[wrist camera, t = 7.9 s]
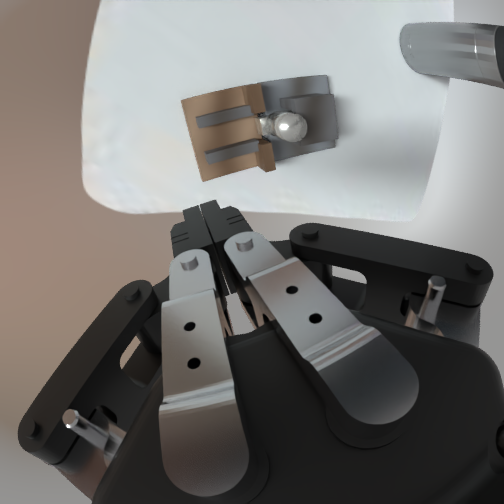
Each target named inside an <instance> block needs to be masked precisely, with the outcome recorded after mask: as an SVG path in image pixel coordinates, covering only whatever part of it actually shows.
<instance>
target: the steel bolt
mask: <svg viewBox="0 0 504 504" xmlns="http://www.w3.org/2000/svg"><path fill="white" fill-rule="evenodd" d="M255 122H256V127H257V132H258V134H260V135H262V136H264V135H269V134H271V135H273V136H275V137H278V138H281V139H283V140H286V141H288V142H298V141H300V140H302V139H303V138H304V136H305V135H306V132H307V123H306V121H305V119H304V118H303V117H302V116H301V115H299V114H294V113H292V110H291V111H285V112H283V111H275V112H272V113H271V114H269V115H264V116H259V117H255Z"/></svg>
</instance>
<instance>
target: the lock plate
mask: <svg viewBox="0 0 504 504" xmlns="http://www.w3.org/2000/svg"><path fill="white" fill-rule="evenodd" d="M181 103H182V107H183V111H184V115H185V119H186V123H187V127H188V130H189V134H190V138H191V142H192V146H193V149H194V153H195V157H196V161H197V164H198V168H199V172H200V175H201V179H202V181H203V182H204V181H208V180H211V179H214V178H217V177H221V176H224V175H227V174H231V173H234V172H238V171H241V170H245V169H248V168H252V167H256V166H258V167H260V168H261V169H262V170H264V171H265V172H269V171H273V170H276V167H275V161H278V160H282V159H286V158H290V157H295V156H299V155H303V154H307V153H312V152H316V151H321V150H325V149H330V148H335V139H338V129H337V119H336V110H335V102H334V95H333V94H329V87H328V80H327V75H318V76H307V77H297V78H289V79H281V80H274V81H267V82H261V83H257V84H249V85H244V86H238V87H234V88H229V89H224V90H220V91H215V92H211V93H207V94H203V95H199V96H195V97H191V98H187V99H184V100H181ZM291 110H292V113H294V114H299V115H301V116H302V117H303V118H304V119H305V121H306V123H307V132H306V135H305V136H304V138H303V139H302V140H300V141H298V142H288V141H286V140H283V139H281V138H278V137H275V136H273V135H271V134H269V135H267V139H268V141H266V140H264V139H262V136H261V135H260V134H258V132H257V127H256V122H255V117H258V115H257V113H261V112H263V116H264V115H269V114H271V113H272V112H275V111H283V112H285V111H291Z"/></svg>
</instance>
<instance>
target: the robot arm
mask: <svg viewBox="0 0 504 504" xmlns="http://www.w3.org/2000/svg"><path fill="white" fill-rule="evenodd" d="M400 46H401V50H402V53H403V56H404V58H405V60H406V62H407V63H408V65H409V66H410V67H411V68H412V69H413V70H414V71H416V72H418V73H422V74H431V75H438V76H445V77H451V78H457V79H463V80H468V81H473V82H478V83H483V84H487V85H491V86H496V87H500V88H503V89H504V26H499V25H490V24H478V23H460V22H426V23H409V24H407V25H405V26H404V27H403V29H402V31H401V34H400ZM200 208H201V211H202V214H201V211H200ZM200 208H199V206H198V205H197V206H194V207H191V208H188V209H185V210H183V215H184V219H185V221H184V222H181V223H178V224H175V225H174V226H173V228H172V230H171V240H172V248H173V255H174V259H173V261H172V262H171V264H170V269H169V271H170V272H169V273H170V274H169V276H168V277H167V278H166V279H165V280H163V281H161V282H160V283H158V284H156V285H155V286H153V287H152V285H151V284H150V282H148V281H146V280H137V281H133V282H131V283H129V284H127V285H125V286H124V287H123V288H122V289H120V291H118V293H117V294H116V295H115V296H114V298H113V299H112V300H111V301H110V302H109V303H108V304H107V306H106V307H105V308H104V309H103V310H102V312H101V313H100V314H99V315H98V317H97V318H96V319H95V320H94V321H93V322H92V324H91V325H90V326H89V328H88V329H87V330H86V331H85V332H84V334H83V335H82V336H81V338H80V339H79V340H78V341H77V343H76V344H75V345H74V347H73V348H72V349H71V350H70V352H69V353H68V354H67V356H66V357H65V358H64V360H63V361H62V362H61V364H60V365H59V366H58V368H57V369H56V370H55V372H54V373H53V374H52V376H51V377H50V379H49V380H48V381H47V383H46V384H45V386H44V387H43V388H42V390H41V391H40V393H39V394H38V396H37V397H36V398H35V400H34V401H33V403H32V404H31V406H30V407H29V409H28V411H27V412H26V413H25V415H24V416H23V418H22V420H21V422H20V424H19V428H18V440H19V443H20V445H21V447H22V448H23V449H24V450H25V451H27V452H28V453H30V454H32V455H34V456H36V457H38V458H39V459H41V460H43V461H44V462H45V463H46V464H48V465H50V466H52V467H54V468H56V469H57V470H58V471H59V472H61V473H62V474H63V475H64V476H65V477H66V478H67V479H68V480H69V481H70V482H71V483H72V484H73V485H74V486H75V487H77V488H78V489H79V490H80V491H81V492H82V493H84V494H85V495H86V496H87V497H88V498H89V499H91V500H92V504H504V388H503V384H502V379H501V376H500V372H499V370H498V368H497V366H496V364H495V363H494V361H493V360H492V358H491V357H490V356H489V355H488V354H487V353H485V352H484V351H483V350H481V349H480V348H478V347H479V332H480V307H481V305H482V303H483V300H484V298H485V296H486V293H487V291H488V288H489V286H490V284H491V281H492V279H493V270H492V268H491V266H490V265H489V264H488V262H486V261H485V260H484V259H482V258H480V257H478V256H476V255H472V254H468V253H464V252H459V251H455V250H450V249H446V248H442V247H437V246H433V245H428V244H423V243H419V242H414V241H409V240H404V239H399V238H394V237H389V236H384V235H379V234H374V233H369V232H363V231H358V230H353V229H347V228H341V227H336V226H330V225H324V224H319V223H306V224H302V225H299V226H297V227H295V228H294V229H293V230H291V232H290V235H289V238H290V240H283V241H276V242H275V241H268V240H267V239H266V238H265V237H264V236H263V235H262V234H260V233H258V232H254V231H253V230H252V229H251V227H250V226H249V224H248V223H247V221H246V220H245V218H244V217H243V216H242V214H241V213H240V211H239V210H238V209H236V208H234V207H231V206H229V207H226V208H223V209H220V207H219V205H218V203H217V201H216V200H212V201H209V202H206V203H203V204H200ZM202 215H203V216H202ZM203 218H204V219H203ZM332 265H333V266H337V267H342V268H346V269H350V270H355V271H358V272H360V273H362V274H363V275H364V276H365V278H366V280H367V284H364V283H359V282H355V281H351V280H347V279H343V278H339V277H335V276H332ZM221 269H222V270H221ZM222 272H223V273H222ZM223 275H224V276H223ZM224 277H225V280H226V282H227V285H228V287H229V290H230V292H231V294H233V293H236V292H237V293H238V295H239V299H240V302H241V305H242V308H243V310H244V311H245V313H246V315H247V316H248V318H249V320H250V322H251V324H252V325H253V327H254V329H255V330H254V331H252V332H250V333H246V334H240V335H234V331H233V327H232V323H231V319H230V315H229V312H228V309H227V301H226V298H225V296H227V295H229V291H228V288H227V285H226V283H225V280H224ZM135 336H137V338H138V339H139V340H140V342H141V343H140V344H139V346H138V347H137V349H136V350H135V351H134V353H133V354H132V356H131V357H130V359H129V360H128V361H127V363H126V364H125V366H124V367H123V369H121V367H120V358H121V356H122V354H123V352H124V351H125V350H126V348H127V346H128V345H129V344H130V343H131V341H132V340H133V338H134V337H135Z"/></svg>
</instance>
